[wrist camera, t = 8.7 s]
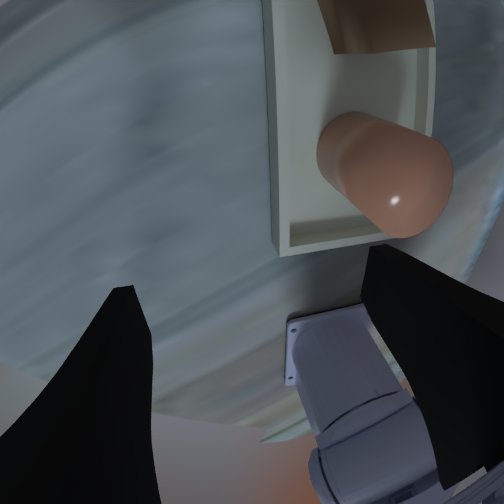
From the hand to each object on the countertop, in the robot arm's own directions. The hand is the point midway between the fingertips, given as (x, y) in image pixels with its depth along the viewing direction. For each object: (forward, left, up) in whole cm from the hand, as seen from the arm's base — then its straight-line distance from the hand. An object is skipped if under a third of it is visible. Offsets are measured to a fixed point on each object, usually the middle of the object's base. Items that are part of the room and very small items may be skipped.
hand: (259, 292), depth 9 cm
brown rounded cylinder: (+1, -8, -9) cm, 12 cm away
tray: (+4, -8, -10) cm, 13 cm away
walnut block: (+9, -8, -9) cm, 16 cm away
